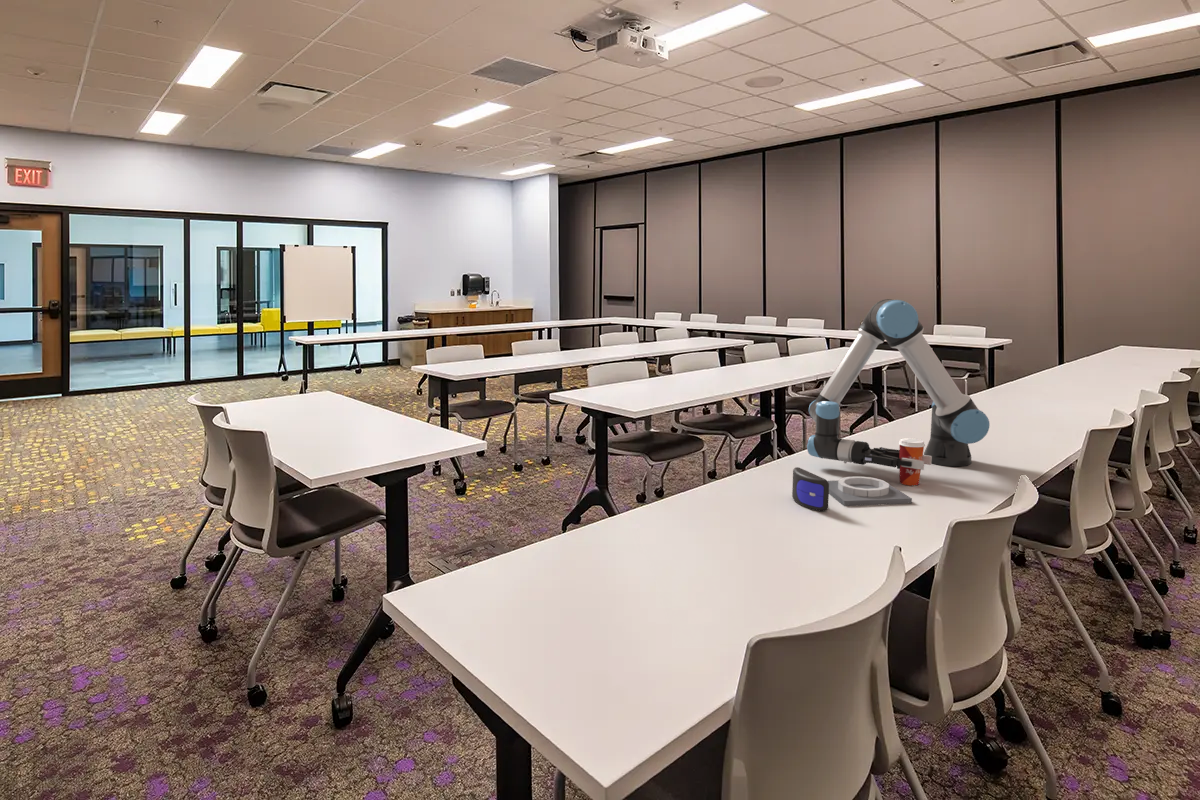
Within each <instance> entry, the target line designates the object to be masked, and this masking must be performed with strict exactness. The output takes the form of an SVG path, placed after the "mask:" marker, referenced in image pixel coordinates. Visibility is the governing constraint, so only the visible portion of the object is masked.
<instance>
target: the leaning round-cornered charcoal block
mask: <svg viewBox="0 0 1200 800" xmlns="http://www.w3.org/2000/svg"><path fill="white" fill-rule="evenodd" d="M828 481H829V480H827V479H826V478H823V477H821V476H820V475H816V474H815V473H812V472H810V471H808V470H806V469H803V468H801V467H794V468H793V469H792V492H791V493H792V495H791V496H792V499H793V501H794V502H796V504H798V505H800V506H802V507H804V508H807V509H809V510H814V511H817V512H826V511H827V510H828V509H829V498H830V497H829V495H830V494H829V483H828Z"/></svg>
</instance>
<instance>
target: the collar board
mask: <svg viewBox="0 0 1200 800" xmlns="http://www.w3.org/2000/svg"><path fill="white" fill-rule="evenodd" d="M827 481H828V483H829V495H830V496H831V497H832V498H833V499H835V500H836V501H837V502H839V503H840V504H841V505H842V506H843V507H853V506H856V505H858V506H879V505H878V504H880V505H881V504H884V505H905V504H904V503H910V504H912V503H913V498H912V497H911V496H909V495H907V494H905V493H904V492H902V491H901V490H899V489H897V488H896V487H894V486H893V485H891V484H890V483H888V482H886V481H885V480H883V479H881V478H876V477H870V476H863V475H862V476H844V477H842V478H839V479H838V480H827Z"/></svg>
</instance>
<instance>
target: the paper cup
mask: <svg viewBox="0 0 1200 800" xmlns="http://www.w3.org/2000/svg"><path fill="white" fill-rule="evenodd" d="M898 445H899V450H900V451H899V458H901V460H902V458H908V459H915V460H922V457H923V455H924V451H925V447H926V445H925V441H924V440H923V439H918V438H915V437H914V438H912V437H911V438H910V437H904V438H901V439H899V441H898ZM898 470H899V472H898V473H899V477H898V478H899V484H901V485H904V486H909V487H910V486H911V487H915V486H914V485H917V486H919V485H918V484H919V483H920V480H921V471H922V470H920V469H914V468H908V467H901V466H900V469H898ZM912 485H913V486H912Z"/></svg>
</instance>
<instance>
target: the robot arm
mask: <svg viewBox="0 0 1200 800" xmlns="http://www.w3.org/2000/svg"><path fill="white" fill-rule="evenodd" d="M857 330H858V334H856V335H857V336H856V337H855V338H854V340H853V341H852V343H851V345H850V346H849V348H848V349H847V351H846V353H845V354H844V355H843V357H842V359H841V360H840V362H839V364H837V367H836V368H835V369H834V371H833V373H832V375H831V376H829V377H830V378H829V379H828V381H827V382H826V384H824V387H823V389H822V390H821V392H820V393H819V394H818V396H817V397H816V399H815V400H813V401H811V403H809V407H808V413H809V416H810V418H811V419H812V421H814V423H815V433H814V434H812V435H810V436H809V438H808V440H807V445H806V448H807V450H806V451H807V453H808V454H809V456H812V457H815V458H819V459H825V460H831V461H832V460H833V461H839V462H843V463H844V464H847V463H850V464H851V463H853V464H856V465H863V466H864V465H866V464H873V465H874V464H875V465H879V466H883V467H884V466H885V467H890V468H896V469H898V470H899V469H900V466H901V467H908V468H914V469H920V470H921V471H924V470H925V465H929V466H932V464H934V465H936V466H937V465H938V466H946V467H964V466H970V465H971V464H972V458H973V457H972V454H971V450H970V447H969V444H974V443H978V442H980V441H981V440H983V439H984V438H985V437H986V436H987V434H988V432H989V430H990V427H991V426H990V419H989V417H988V416H987V414H986V413H984V412H983V410H980V409H979V408H978V406H977V405H976V404H975V402H974V401H973V399H972V397H971V396H970V395H968V394H963V393H962V391H960V389H959V387H958V385H957V384H956V383H955V381H954V380H953V379H952V376H951V375H950V374H949V372H948V371H947V369H946V368H945V366H944V365H943V363H942V362H941V361H940V359H939V358H938V356H937V355H936V353H935V352H934V350H933V349H932V347H931V346H930V345H929V342H928V341H927V339H926V338H925V337H924V335H923V332H924V330H925V329H924V326H923V324H922V323H921V322H920V320H919V315H918V312H917V309H915V307H914V306H913V305H912V304H911V303H910V302H907V301H905V300H902V299H890V298H889V299H888V298H887V299H882V300H879V301H877V302H875V304H873V305H872V307H871V308H870V309H869V310H868V312H867V314H866V315H865V317H864V318H863V320H862V321H861V324H860V325H859V327H858V328H857ZM884 342H886V343H887V344H888V346H889V347H890V348H892V349H897V350H898V351H899V353H900V355H901V356H902V358H903V359H904V360H905V362H906V363H907V365H908V366H909V367H910V369H911V371H912V372H913V374H914V375H915V377H916V379H917V380H918V382H920V384H921V386H922V387H923V388H924V390H925V391H926V393H927V395H928V396H929V397H930V400H931V401H932V404H931V408H932V409H931V418H930V419H931V421H930V422H931V423H930V438H929V440H928V442H927V445H926V446H925V448H924V451H923V457H922V460H915V459H908V458H902V460H901V458H899V451H900V449H895V448H894V449H893V448H886V447H882V446H881V447H873V448H871V447H870V444H869V443H868V442H867V441H859V440H855V439H854V440H853V439H845V438H840V437H839V428H840V414H841V412H840V404H841V402H842V401H843V399H844V397H845V396H846V394H847V393H848V391H849V390H850V388H851V386H853V384H854V383H855V381H856V380H857V378H858V376H859V374H860V373H861V372H862V371H863V369H864V367H865V365H866V364H867V363H868V361H869V359H870V358H871V356H872V355H873V353H874V351H875V350H876V349H877V348H878V346H879V345H880V344H883V343H884Z"/></svg>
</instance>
